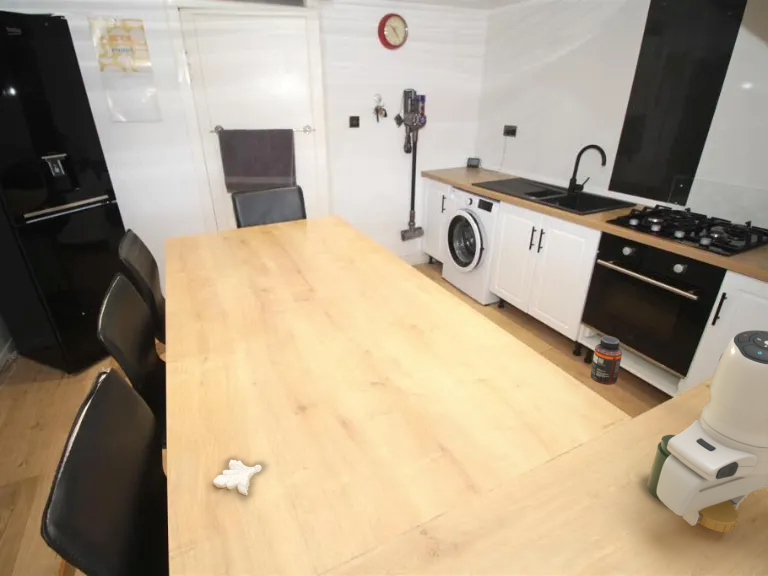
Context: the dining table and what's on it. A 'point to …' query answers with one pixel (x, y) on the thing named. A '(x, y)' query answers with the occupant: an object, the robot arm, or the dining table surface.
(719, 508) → the lid
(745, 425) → the robot arm
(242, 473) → the acanthus leaf ornament
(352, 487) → the dining table surface
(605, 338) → the supplement bottle
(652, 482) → the sauce jar
